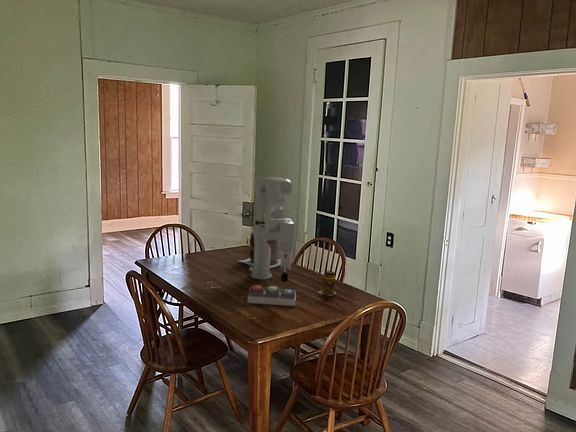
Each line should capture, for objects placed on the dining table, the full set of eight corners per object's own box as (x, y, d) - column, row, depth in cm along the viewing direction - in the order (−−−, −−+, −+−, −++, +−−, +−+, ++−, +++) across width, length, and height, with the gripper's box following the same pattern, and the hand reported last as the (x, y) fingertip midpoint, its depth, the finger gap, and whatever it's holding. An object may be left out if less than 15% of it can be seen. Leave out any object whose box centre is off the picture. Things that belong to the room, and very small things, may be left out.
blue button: (282, 296, 240) (282, 292, 240) (283, 292, 245) (283, 289, 245) (292, 297, 240) (293, 293, 240) (293, 293, 245) (293, 289, 245)
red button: (251, 291, 240) (251, 288, 240) (252, 288, 246) (252, 284, 245) (261, 292, 240) (261, 288, 240) (262, 289, 245) (262, 285, 245)
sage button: (266, 292, 240) (267, 289, 240) (267, 289, 245) (267, 285, 245) (277, 293, 240) (277, 289, 240) (277, 290, 245) (278, 286, 245)
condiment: (331, 296, 255) (332, 274, 253) (317, 293, 259) (318, 271, 257) (336, 292, 261) (338, 271, 259) (322, 289, 266) (324, 268, 263)
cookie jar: (262, 256, 329) (264, 210, 323) (290, 263, 314) (292, 216, 308) (236, 262, 310) (238, 214, 305) (264, 271, 295) (267, 220, 289)
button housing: (247, 302, 239) (247, 292, 238) (249, 296, 249) (250, 286, 248) (295, 305, 238) (295, 295, 237) (295, 299, 248) (296, 288, 247)
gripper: (293, 250, 231) (291, 286, 234) (293, 242, 246) (292, 277, 249) (278, 249, 231) (276, 285, 234) (279, 242, 246) (277, 276, 249)
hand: (284, 281), depth 242 cm, fingers closed
